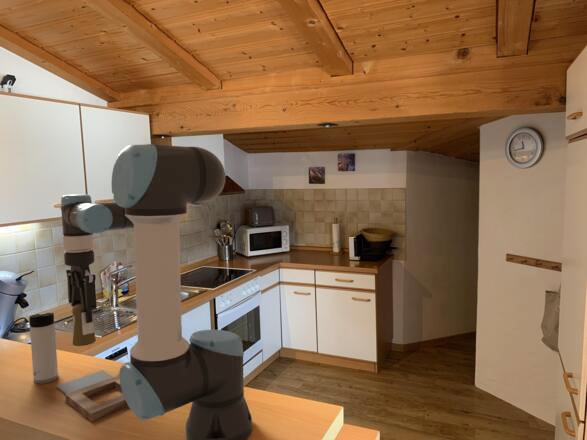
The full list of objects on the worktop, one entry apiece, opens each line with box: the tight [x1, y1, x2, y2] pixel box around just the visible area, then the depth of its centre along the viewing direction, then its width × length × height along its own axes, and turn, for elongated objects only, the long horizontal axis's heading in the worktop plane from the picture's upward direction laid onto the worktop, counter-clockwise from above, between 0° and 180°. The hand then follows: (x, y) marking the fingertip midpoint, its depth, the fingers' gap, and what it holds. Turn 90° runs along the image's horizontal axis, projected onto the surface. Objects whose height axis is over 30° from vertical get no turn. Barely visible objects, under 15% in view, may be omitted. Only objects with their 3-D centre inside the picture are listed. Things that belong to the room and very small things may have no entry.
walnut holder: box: [64, 374, 129, 422], centre depth 116 cm, size 15×15×2 cm
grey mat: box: [56, 369, 114, 395], centre depth 125 cm, size 9×13×1 cm
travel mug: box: [29, 312, 59, 385], centre depth 127 cm, size 6×7×20 cm
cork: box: [71, 303, 97, 347], centre depth 123 cm, size 6×6×11 cm
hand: (83, 330), depth 124 cm, fingers closed on cork, 5 cm apart
